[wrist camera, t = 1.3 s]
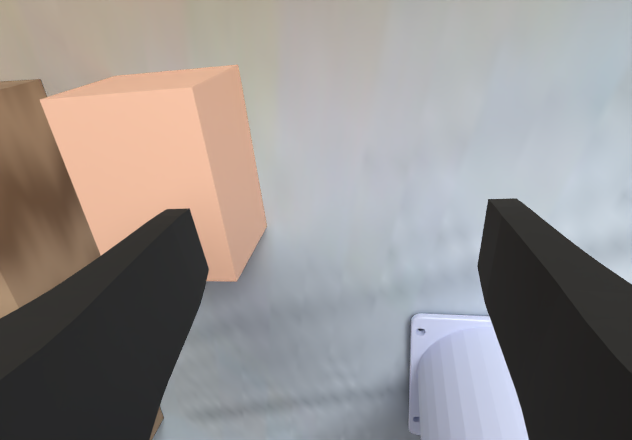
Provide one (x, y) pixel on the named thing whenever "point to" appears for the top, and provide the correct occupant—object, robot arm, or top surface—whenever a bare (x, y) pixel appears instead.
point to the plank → (37, 205)
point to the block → (164, 158)
